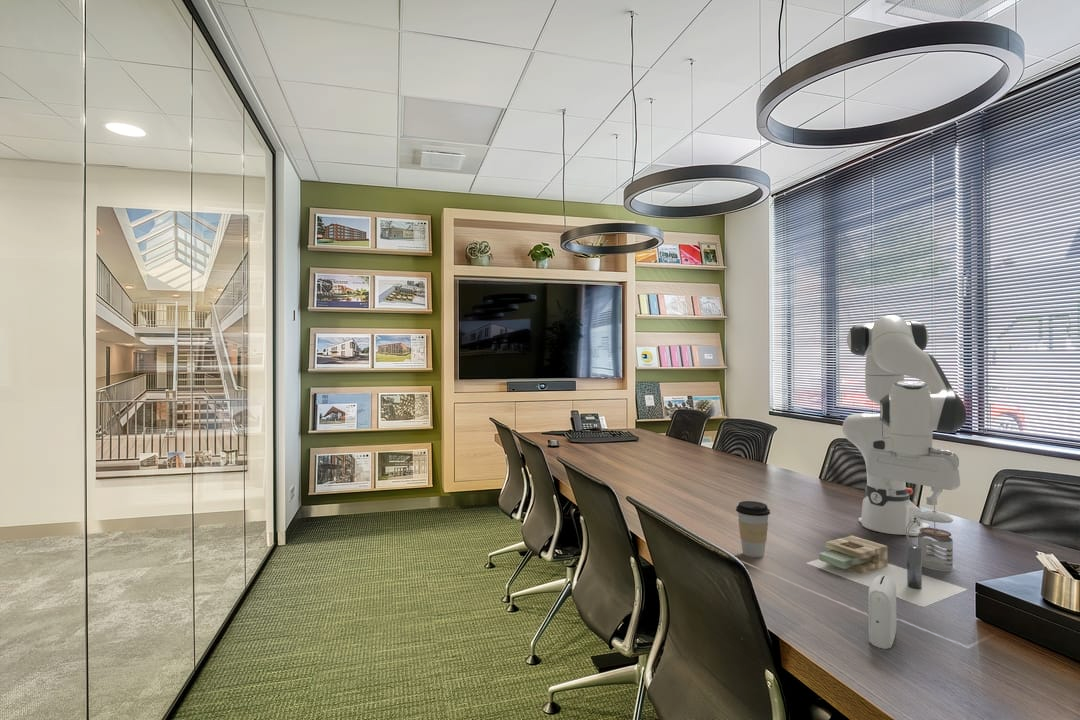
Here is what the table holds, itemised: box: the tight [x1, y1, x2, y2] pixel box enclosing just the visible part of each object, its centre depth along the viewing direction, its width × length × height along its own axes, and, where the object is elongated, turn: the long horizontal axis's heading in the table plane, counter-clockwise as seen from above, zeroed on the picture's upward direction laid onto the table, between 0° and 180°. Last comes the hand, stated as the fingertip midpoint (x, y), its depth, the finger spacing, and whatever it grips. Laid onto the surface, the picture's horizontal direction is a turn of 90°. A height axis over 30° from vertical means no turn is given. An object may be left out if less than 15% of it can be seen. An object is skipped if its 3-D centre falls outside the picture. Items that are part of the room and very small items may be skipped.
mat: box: [806, 558, 969, 608], centre depth 138 cm, size 20×30×1 cm, turn 27°
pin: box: [906, 544, 923, 589], centre depth 131 cm, size 3×3×10 cm
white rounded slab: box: [867, 575, 897, 650], centre depth 108 cm, size 10×4×12 cm, turn 140°
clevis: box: [818, 535, 888, 574], centre depth 145 cm, size 17×10×6 cm, turn 117°
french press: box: [905, 505, 957, 572], centre depth 146 cm, size 10×12×25 cm
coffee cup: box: [735, 500, 771, 558], centre depth 155 cm, size 9×9×15 cm
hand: (910, 500), depth 132 cm, fingers open, 8 cm apart
